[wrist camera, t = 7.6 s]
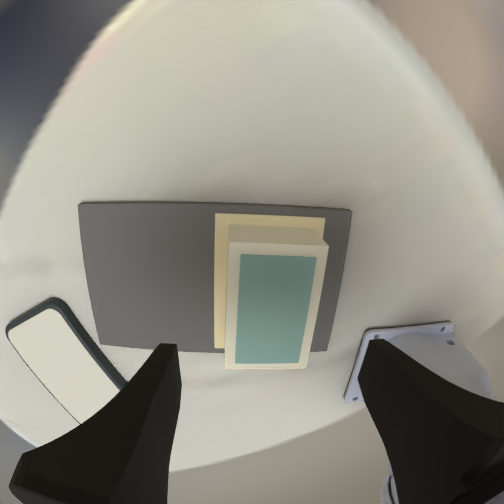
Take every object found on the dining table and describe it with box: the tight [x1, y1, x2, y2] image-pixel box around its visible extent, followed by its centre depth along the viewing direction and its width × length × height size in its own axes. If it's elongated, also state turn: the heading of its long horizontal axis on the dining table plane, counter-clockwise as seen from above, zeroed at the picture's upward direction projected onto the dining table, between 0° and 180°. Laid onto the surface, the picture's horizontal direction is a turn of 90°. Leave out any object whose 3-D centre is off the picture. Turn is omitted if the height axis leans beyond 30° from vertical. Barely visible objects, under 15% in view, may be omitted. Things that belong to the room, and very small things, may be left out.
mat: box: [78, 202, 352, 353], centre depth 19 cm, size 17×10×1 cm, turn 87°
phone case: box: [5, 297, 127, 424], centre depth 22 cm, size 9×2×16 cm
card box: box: [225, 224, 329, 370], centre depth 18 cm, size 8×5×3 cm, turn 176°
